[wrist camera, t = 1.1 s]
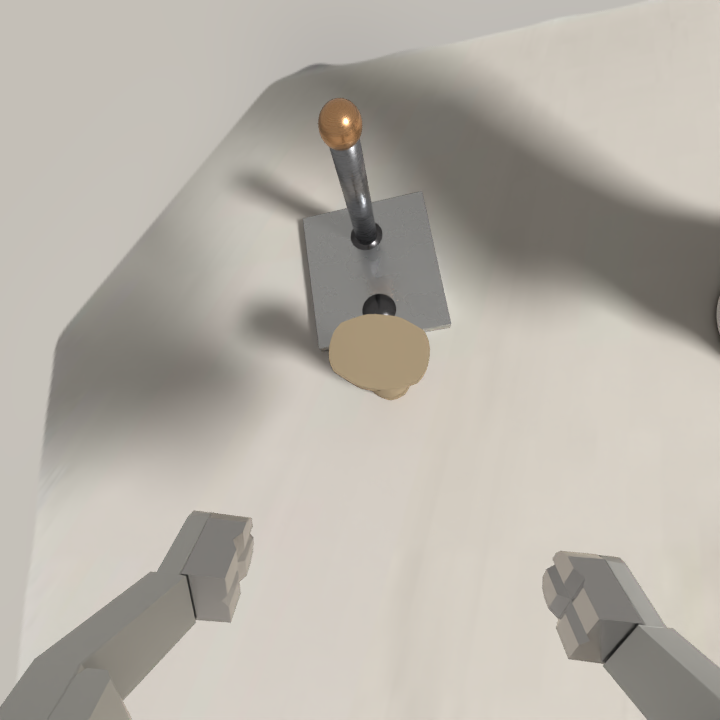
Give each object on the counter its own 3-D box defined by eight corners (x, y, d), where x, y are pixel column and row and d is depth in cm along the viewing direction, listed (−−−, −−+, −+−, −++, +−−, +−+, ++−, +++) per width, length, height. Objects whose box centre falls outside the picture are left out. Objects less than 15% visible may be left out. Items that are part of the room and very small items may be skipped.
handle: (365, 359, 38) (334, 310, 23) (425, 365, 37) (433, 319, 22) (359, 404, 37) (323, 382, 23) (420, 412, 36) (425, 394, 21)
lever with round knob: (378, 220, 40) (355, 80, 24) (382, 245, 39) (361, 118, 24) (350, 226, 40) (310, 93, 25) (354, 251, 40) (315, 130, 24)
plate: (421, 197, 41) (421, 190, 40) (450, 327, 37) (451, 323, 36) (305, 224, 43) (302, 218, 41) (321, 351, 39) (318, 348, 38)
